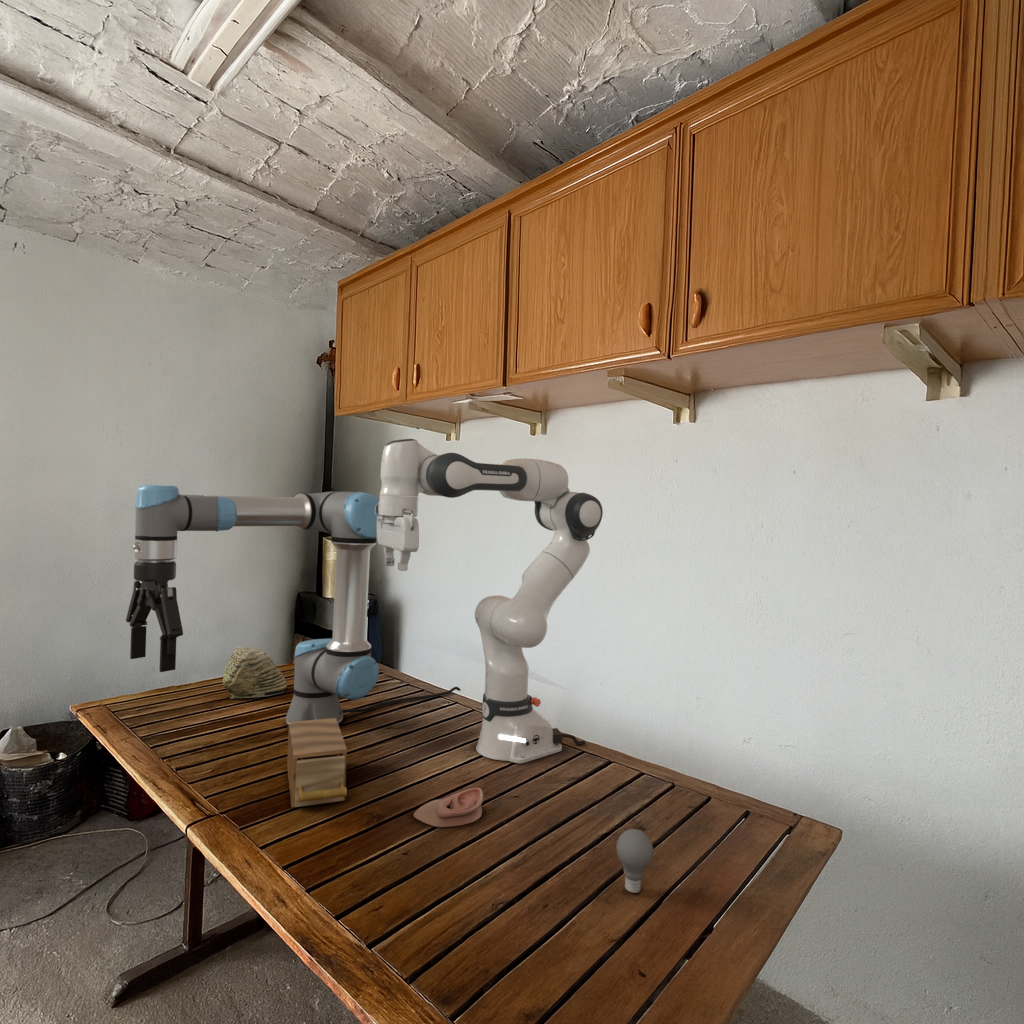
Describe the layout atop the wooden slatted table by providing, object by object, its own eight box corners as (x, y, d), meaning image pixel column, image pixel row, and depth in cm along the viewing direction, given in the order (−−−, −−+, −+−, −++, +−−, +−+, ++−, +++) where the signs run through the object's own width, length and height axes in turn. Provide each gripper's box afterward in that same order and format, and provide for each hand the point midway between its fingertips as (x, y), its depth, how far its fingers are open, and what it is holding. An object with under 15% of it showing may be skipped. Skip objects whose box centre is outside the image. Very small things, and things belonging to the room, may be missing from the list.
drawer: (347, 813, 126) (348, 768, 125) (297, 820, 122) (298, 774, 122) (333, 764, 148) (334, 726, 148) (290, 769, 144) (292, 730, 144)
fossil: (218, 695, 195) (220, 647, 195) (278, 685, 208) (279, 640, 207) (228, 703, 189) (230, 653, 188) (289, 692, 201) (290, 645, 201)
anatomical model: (408, 802, 124) (427, 778, 135) (407, 822, 124) (427, 796, 136) (473, 812, 122) (488, 786, 133) (473, 832, 122) (487, 805, 133)
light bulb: (610, 879, 108) (613, 822, 108) (644, 879, 109) (647, 822, 109) (619, 902, 102) (622, 840, 102) (655, 901, 103) (658, 840, 103)
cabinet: (345, 800, 133) (347, 749, 132) (291, 807, 129) (293, 754, 128) (334, 762, 151) (336, 717, 151) (287, 768, 147) (288, 721, 147)
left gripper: (110, 555, 134) (107, 655, 134) (164, 567, 119) (160, 680, 119) (148, 554, 140) (145, 650, 140) (204, 565, 125) (200, 672, 125)
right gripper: (427, 510, 139) (424, 573, 139) (397, 507, 157) (395, 563, 157) (399, 509, 136) (397, 573, 136) (372, 506, 154) (370, 563, 154)
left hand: (152, 664), depth 130 cm, fingers open, 13 cm apart
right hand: (396, 568), depth 147 cm, fingers open, 8 cm apart
